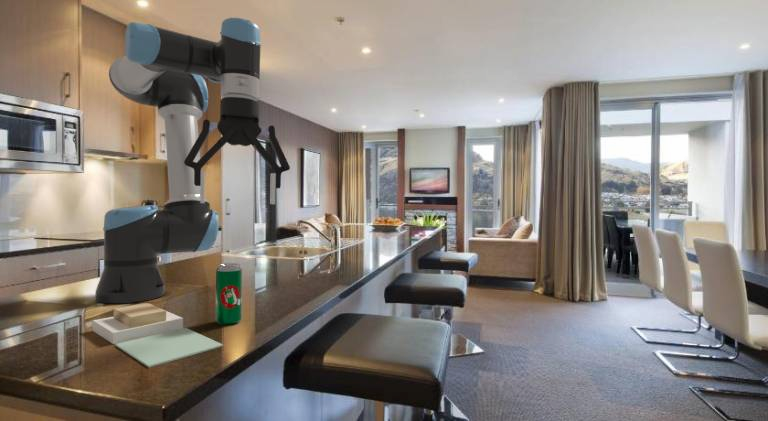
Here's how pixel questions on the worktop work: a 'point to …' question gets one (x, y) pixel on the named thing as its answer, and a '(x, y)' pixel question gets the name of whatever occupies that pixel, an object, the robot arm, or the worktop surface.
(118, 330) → the white flat square block
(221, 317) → the soda can
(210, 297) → the worktop surface
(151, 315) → the tan flat block
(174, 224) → the robot arm
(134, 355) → the mat
